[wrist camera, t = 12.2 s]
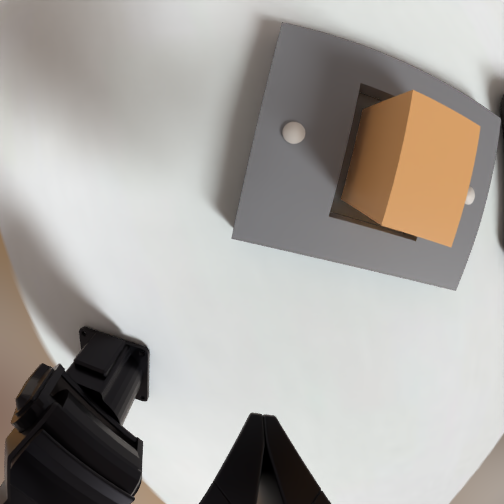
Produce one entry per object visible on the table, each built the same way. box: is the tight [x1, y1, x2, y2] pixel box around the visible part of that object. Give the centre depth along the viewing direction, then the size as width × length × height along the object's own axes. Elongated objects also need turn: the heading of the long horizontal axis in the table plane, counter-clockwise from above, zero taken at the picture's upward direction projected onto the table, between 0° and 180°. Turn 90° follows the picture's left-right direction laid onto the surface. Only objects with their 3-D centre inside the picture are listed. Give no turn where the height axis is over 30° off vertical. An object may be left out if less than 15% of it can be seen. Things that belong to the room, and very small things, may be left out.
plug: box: [341, 90, 481, 247], centre depth 14 cm, size 6×4×7 cm, turn 168°
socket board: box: [231, 22, 501, 291], centre depth 16 cm, size 13×16×2 cm
